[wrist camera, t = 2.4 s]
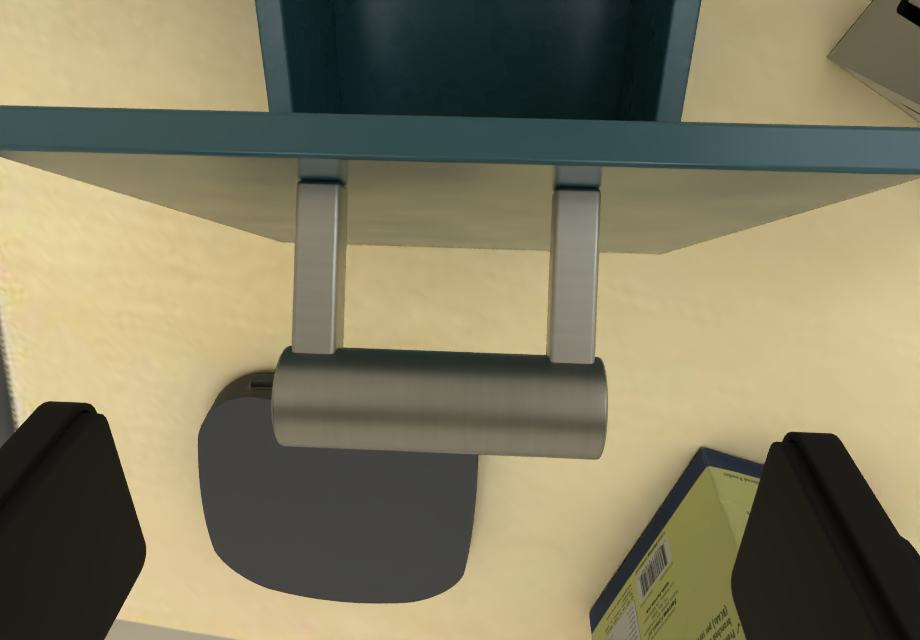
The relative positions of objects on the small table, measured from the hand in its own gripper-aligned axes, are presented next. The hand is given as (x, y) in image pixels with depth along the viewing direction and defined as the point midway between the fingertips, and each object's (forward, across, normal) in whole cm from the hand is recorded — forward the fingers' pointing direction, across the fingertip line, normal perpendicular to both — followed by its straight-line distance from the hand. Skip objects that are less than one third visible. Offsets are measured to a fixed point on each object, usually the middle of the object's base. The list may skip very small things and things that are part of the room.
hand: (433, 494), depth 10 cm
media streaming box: (+22, +7, +21) cm, 32 cm away
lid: (+8, 0, -2) cm, 8 cm away
